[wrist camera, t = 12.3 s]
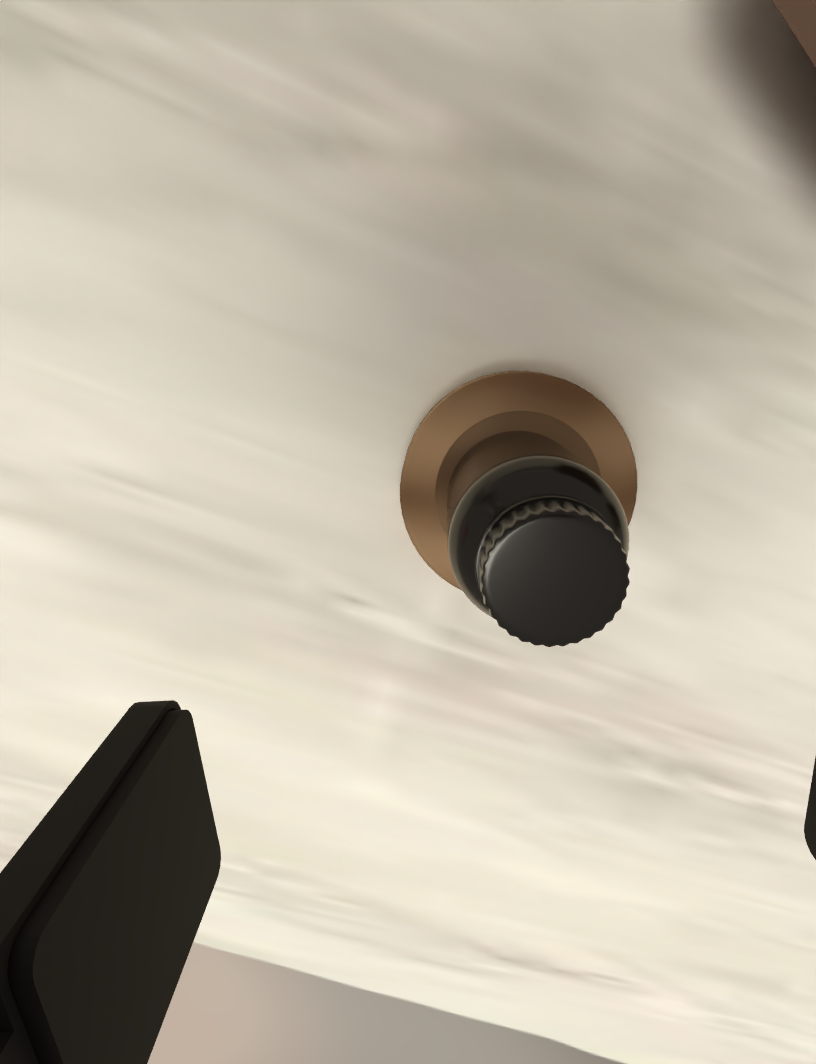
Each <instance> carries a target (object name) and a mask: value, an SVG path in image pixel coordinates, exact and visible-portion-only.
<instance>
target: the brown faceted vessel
mask: <svg viewBox="0 0 816 1064" xmlns="http://www.w3.org/2000/svg"><path fill="white" fill-rule="evenodd" d="M772 1H773V2H774V4H775V5H776V7H777V8H778V10H779V12H780V13H781V15H782V16H783V18H784V19H785V21H786V22H787V24H788V26H789V27H790V29H791V30H792V32H793V33H794V35H795V36H796V38H797V40H798V41H799V43H800V44H801V46H802V47H803V49H804V50H805V52H806V54H807V55H808V57H809V58H810V60H811V61H812V63H813V64H814V66H815V68H816V0H772Z"/></svg>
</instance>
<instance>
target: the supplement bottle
mask: <svg viewBox="0 0 816 1064" xmlns="http://www.w3.org/2000/svg"><path fill="white" fill-rule="evenodd" d="M447 537H448V553H449V559H450V564H451V568H452V571H453V574H454V576H455V578H456V580H457V583H458V584H459V586H460V588H461V589H462V591H463V592H464V593H465V595H466V596H467V597H468V598H469V599H470V601H471V602H472V603H473V604H474V605H476V606H477V607H478V608H479V609H480V610H482V611H483V612H484V613H486V614H488V615H489V616H491V617H493V618H494V619H496V620H497V623H498V625H499V626H500V627H502V628H504V629H506V630H507V632H508V633H509V634H510V635H511V636H516V637H518V638H519V639H520V640H521V641H523V642H531V643H532V644H534V645H545V646H548V647H551V646H555V645H559V646H565V645H567V644H569V643H578V642H580V641H581V640H582V639H584V638H590V637H591V636H592V635H593V634H594V633H595V632H598V631H600V630H602V629H603V628H604V627H605V625H606V623H608V622H610V621H612V620H613V618H614V615H615V613H616V612H617V611H619V610H620V609H621V604H622V601H623V600H624V599H625V597H626V588H627V587H628V585H629V579H628V573H629V569H630V568H629V566H628V564H627V563H626V560H627V556H628V550H629V530H628V523H627V519H626V515H625V512H624V510H623V507H622V505H621V503H620V501H619V499H618V498H617V496H616V495H615V493H614V492H613V490H612V489H611V488H610V487H609V485H608V484H607V483H606V482H605V481H604V480H603V479H602V478H601V477H600V476H599V475H598V474H596V473H595V472H594V471H593V470H591V469H590V468H589V467H588V466H586V465H585V464H584V463H583V462H581V461H580V460H579V459H578V458H576V457H575V456H574V455H573V454H571V453H570V452H569V451H568V450H566V449H565V448H564V447H563V446H561V445H560V444H558V443H557V442H555V441H554V440H552V439H550V438H548V437H546V436H543V435H541V434H537V433H534V432H528V431H507V432H502V433H498V434H495V435H492V436H490V437H487V438H485V439H483V440H482V441H480V442H478V443H477V444H476V445H474V446H473V447H472V448H471V449H469V450H468V451H467V452H466V453H465V454H464V456H463V457H462V458H461V459H460V461H459V462H458V464H457V465H456V467H455V469H454V471H453V474H452V476H451V479H450V482H449V486H448V492H447Z"/></svg>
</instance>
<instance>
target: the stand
mask: <svg viewBox="0 0 816 1064" xmlns="http://www.w3.org/2000/svg"><path fill="white" fill-rule="evenodd" d="M507 431H528V432H534V433H537V434H541V435H543V436H546V437H548V438H550V439H552V440H554V441H555V442H557V443H558V444H560V445H561V446H563V447H564V448H565V449H566V450H568V451H569V452H570V453H571V454H573V455H574V456H575V457H576V458H578V459H579V460H580V461H581V462H583V463H584V464H585V465H586V466H588V467H589V468H590V469H591V470H593V471H594V472H595V473H596V474H598V475H599V476H600V477H601V478H602V479H603V480H604V481H605V482H606V483H607V484H608V485H609V487H610V488H611V489H612V490H613V492H614V493H615V495H616V496H617V498H618V499H619V501H620V503H621V505H622V507H623V510H624V512H625V515H626V519H627V523H628V525H629V523H630V520H631V518H632V514H633V510H634V506H635V502H636V493H637V471H636V465H635V458H634V455H633V452H632V448H631V445H630V442H629V440H628V438H627V436H626V434H625V432H624V430H623V428H622V426H621V425H620V423H619V422H618V420H617V419H616V417H615V416H614V415H613V414H612V413H611V412H610V410H609V409H608V408H607V407H606V406H605V405H604V404H603V403H602V402H601V401H599V400H598V399H597V398H596V397H595V396H593V395H592V394H591V393H589V392H587V391H586V390H584V389H582V388H581V387H579V386H577V385H575V384H573V383H570V382H568V381H566V380H563V379H560V378H557V377H553V376H550V375H546V374H543V373H537V372H529V371H508V372H500V373H494V374H490V375H487V376H483V377H480V378H477V379H475V380H473V381H470V382H468V383H466V384H464V385H462V386H460V387H459V388H457V389H455V390H454V391H452V392H451V393H449V394H448V395H447V396H446V397H444V398H443V399H442V400H440V401H439V402H438V403H437V404H436V405H435V406H434V407H433V408H432V409H431V410H430V412H429V413H428V414H427V415H426V417H425V418H424V419H423V421H422V422H421V423H420V425H419V427H418V429H417V430H416V432H415V434H414V436H413V438H412V440H411V443H410V445H409V447H408V450H407V454H406V458H405V461H404V465H403V469H402V475H401V483H400V502H401V509H402V516H403V519H404V523H405V526H406V529H407V532H408V534H409V536H410V539H411V541H412V543H413V545H414V546H415V548H416V550H417V551H418V553H419V555H420V556H421V557H422V558H423V560H424V561H425V562H426V563H427V565H428V566H429V567H430V568H431V569H432V570H434V571H435V572H436V573H437V574H438V575H439V576H440V577H441V578H443V579H444V580H446V581H447V582H448V583H450V584H451V585H453V586H455V587H457V588H459V589H460V590H462V589H461V588H460V586H459V584H458V583H457V580H456V578H455V576H454V574H453V571H452V568H451V564H450V559H449V553H448V537H447V492H448V486H449V482H450V479H451V476H452V474H453V471H454V469H455V467H456V465H457V464H458V462H459V461H460V459H461V458H462V457H463V456H464V454H465V453H466V452H467V451H468V450H469V449H471V448H472V447H473V446H474V445H476V444H477V443H478V442H480V441H482V440H483V439H485V438H487V437H490V436H492V435H495V434H498V433H502V432H507Z"/></svg>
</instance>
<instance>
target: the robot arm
mask: <svg viewBox="0 0 816 1064" xmlns="http://www.w3.org/2000/svg"><path fill="white" fill-rule="evenodd" d="M804 833H805V839H806V842H807V845H808V848H809V850H810V852H811V854H812V855H813V857H814V858H815V860H816V758H815V764H814V770H813V776H812V782H811V788H810V795H809V801H808V807H807V813H806V819H805V825H804ZM220 861H221V851H220V845H219V840H218V836H217V831H216V826H215V822H214V817H213V812H212V808H211V803H210V798H209V793H208V789H207V784H206V779H205V775H204V770H203V765H202V760H201V756H200V751H199V746H198V742H197V737H196V732H195V728H194V723H193V718H192V715H191V713H190V712H189V711H188V710H181V708H180V706H179V704H178V703H177V702H175V701H152V702H138V703H134V704H133V705H132V706H131V707H130V708H129V709H128V711H127V712H126V713H125V715H124V716H123V717H122V718H121V720H120V721H119V722H118V724H117V725H116V726H115V727H114V729H113V730H112V731H111V732H110V734H109V735H108V736H107V738H106V739H105V740H104V741H103V743H102V744H101V745H100V747H99V748H98V749H97V750H96V752H95V753H94V754H93V755H92V757H91V758H90V759H89V761H88V762H87V763H86V764H85V766H84V767H83V768H82V770H81V771H80V772H79V773H78V775H77V776H76V777H75V778H74V780H73V781H72V782H71V784H70V785H69V786H68V787H67V789H66V790H65V791H64V793H63V794H62V795H61V796H60V798H59V799H58V800H57V801H56V803H55V804H54V805H53V807H52V808H51V809H50V810H49V812H48V813H47V814H46V816H45V817H44V818H43V819H42V821H41V822H40V823H39V824H38V826H37V827H36V828H35V830H34V831H33V832H32V833H31V835H30V836H29V837H28V838H27V840H26V841H25V842H24V844H23V845H22V846H21V847H20V849H19V850H18V851H17V853H16V854H15V855H14V856H13V858H12V859H11V860H10V861H9V863H8V864H7V865H6V867H5V868H4V869H3V870H2V872H1V873H0V1064H147V1062H148V1059H149V1057H150V1054H151V1052H152V1049H153V1046H154V1044H155V1041H156V1038H157V1036H158V1033H159V1031H160V1028H161V1025H162V1023H163V1020H164V1017H165V1015H166V1012H167V1010H168V1007H169V1004H170V1001H171V999H172V996H173V994H174V991H175V988H176V986H177V983H178V980H179V978H180V975H181V973H182V970H183V967H184V965H185V962H186V959H187V956H188V954H189V951H190V948H191V946H192V943H193V941H194V938H195V936H196V933H197V930H198V928H199V925H200V922H201V920H202V917H203V914H204V912H205V909H206V906H207V904H208V901H209V898H210V896H211V893H212V891H213V888H214V885H215V883H216V880H217V877H218V874H219V869H220Z"/></svg>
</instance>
